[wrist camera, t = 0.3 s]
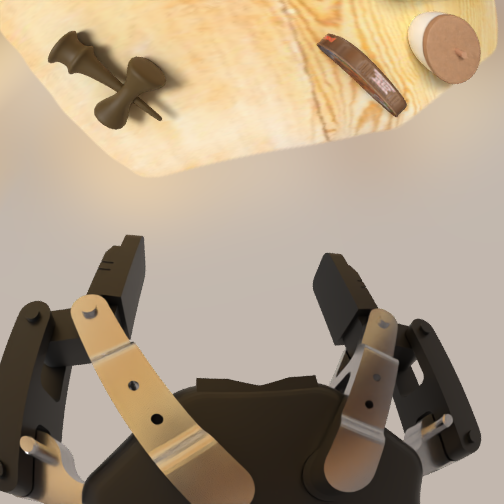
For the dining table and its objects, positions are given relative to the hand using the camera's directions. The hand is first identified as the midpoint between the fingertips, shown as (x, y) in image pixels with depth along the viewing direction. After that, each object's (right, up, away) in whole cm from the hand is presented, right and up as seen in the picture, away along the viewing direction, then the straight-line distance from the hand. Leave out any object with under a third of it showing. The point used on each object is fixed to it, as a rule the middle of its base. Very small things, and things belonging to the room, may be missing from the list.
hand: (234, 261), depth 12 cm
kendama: (-18, +25, +16) cm, 34 cm away
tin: (+15, +27, +18) cm, 35 cm away
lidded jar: (+26, +32, +11) cm, 43 cm away
